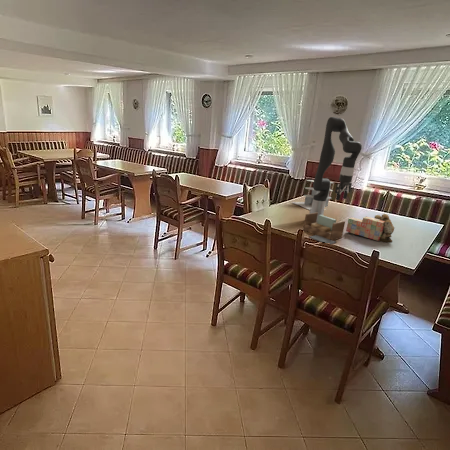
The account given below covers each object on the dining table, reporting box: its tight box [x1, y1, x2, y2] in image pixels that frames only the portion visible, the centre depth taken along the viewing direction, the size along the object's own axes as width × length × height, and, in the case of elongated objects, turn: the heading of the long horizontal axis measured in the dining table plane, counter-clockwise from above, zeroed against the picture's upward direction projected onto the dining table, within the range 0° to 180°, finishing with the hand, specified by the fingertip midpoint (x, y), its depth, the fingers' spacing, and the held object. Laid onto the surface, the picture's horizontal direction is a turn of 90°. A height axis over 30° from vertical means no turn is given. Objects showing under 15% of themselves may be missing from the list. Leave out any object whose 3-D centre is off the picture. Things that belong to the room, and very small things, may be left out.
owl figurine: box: [374, 213, 395, 244], centre depth 216 cm, size 18×12×17 cm, turn 29°
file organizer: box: [291, 179, 334, 211], centre depth 294 cm, size 26×35×22 cm
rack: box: [302, 212, 346, 241], centre depth 216 cm, size 22×12×11 cm, turn 39°
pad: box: [308, 234, 337, 245], centre depth 205 cm, size 14×8×1 cm, turn 39°
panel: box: [316, 214, 337, 231], centre depth 218 cm, size 12×2×10 cm, turn 39°
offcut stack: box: [311, 222, 331, 233], centre depth 216 cm, size 16×5×4 cm, turn 39°
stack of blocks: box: [345, 216, 385, 242], centre depth 217 cm, size 21×6×12 cm, turn 48°
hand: (341, 199), depth 211 cm, fingers open, 8 cm apart
